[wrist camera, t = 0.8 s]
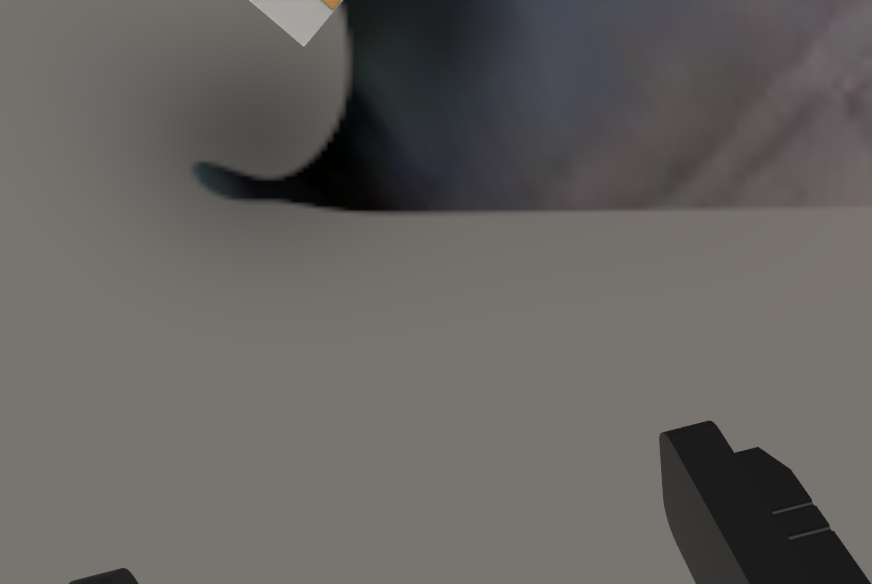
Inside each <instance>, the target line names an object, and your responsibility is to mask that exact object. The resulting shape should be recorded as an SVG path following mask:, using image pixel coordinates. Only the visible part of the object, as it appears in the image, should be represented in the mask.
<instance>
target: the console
mask: <svg viewBox="0 0 872 584" xmlns="http://www.w3.org/2000/svg"><path fill="white" fill-rule="evenodd" d="M249 1H250V2H252V3H253V4H254V5H255V6H256V7H257V8H259V9H260V10H261V11H262V12H263V13H264V14H266V15H267V16H268V17H269V18H270V19H272V20H273V21H274V22H275V23H276V24H277V25H279V26H280V27H281V28H282V29H283V30H285V31H286V32H287V33H288V34H289V35H290V36H292V37H293V38H294V39H295V40H296V41H298V42H299V43H300V44H301V45H302V46H303V47H304V46H305V45H306V44H307V43H308V42H309V40H310V39H311V38H312V37H313V36H314V34H315V33H316V32H317V31H318V30H319V29H320V27H321V26H322V25H323V24H324V23H325V22H326V20H327V19H328V18H329V16H330V15H331V14H332V13H333V12H334V11H335V10H336V8H337V7H338V6H339V5H340V4H341V3H342V1H343V0H249Z"/></svg>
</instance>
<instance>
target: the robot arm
mask: <svg viewBox="0 0 872 584" xmlns="http://www.w3.org/2000/svg"><path fill="white" fill-rule="evenodd" d="M659 441H660V457H661V472H662V486H663V500H664V507H665V511H666V516H667V519H668V522H669V526H670V529H671V531H672V534H673V537H674V539H675V541H676V543H677V545H678V548H679V550H680V551H681V554H682V556H683V558H684V560H685V562H686V564H687V566H688V568H689V570H690V572H691V574H692V576H693V578H694V580H695V582H696V584H871V583H870V582H869V580H868V579H867V577H866V576H865V574H864V573H863V572H862V570H861V569H860V567H859V566H858V565H857V563H856V562H855V560H854V559H853V557H852V556H851V555H850V553H849V552H848V550H847V549H846V548H845V546H844V545H843V543H842V542H841V540H840V539H839V538H838V536H837V535H836V533H835V532H834V531H831V529H830V526H829V523H828V522H827V521H826V519H825V518H824V516H823V515H822V513H821V512H820V510H819V509H818V508H817V506H814V505H813V503H812V499H811V498H810V496H809V495H808V493H807V492H806V491H805V489H804V488H803V486H802V485H801V484H800V482H799V481H798V479H797V478H796V476H795V475H794V474H793V472H792V471H791V469H789V468H788V467H786V466H785V465H784V464H782V463H781V462H779V461H778V460H776V459H775V458H773V457H772V456H770V455H769V454H768V453H766V452H765V451H763V450H762V449H760V448H759V447H756V448H752V449H748V450H744V451H740V452H736V453H734V452H733V450H732V449H731V447H730V445H729V444H728V442H727V441H726V439H725V438H724V436H723V435H722V433H721V431H720V430H719V428H718V427H717V426H716V425H715V424H714V423H713V422H712V421H705V422H701V423H698V424H694V425H690V426H686V427H682V428H678V429H674V430H670V431H666V432H662V433H661V434H660V439H659ZM69 584H138V582H137V581H136V579H135V578H134V576H133V575H132V574H131V572H129V570H127V569H125V568H121V569H117V570H113V571H109V572H105V573H101V574H97V575H94V576H90V577H86V578H82V579H78V580H74V581H72V582H70V583H69Z"/></svg>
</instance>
